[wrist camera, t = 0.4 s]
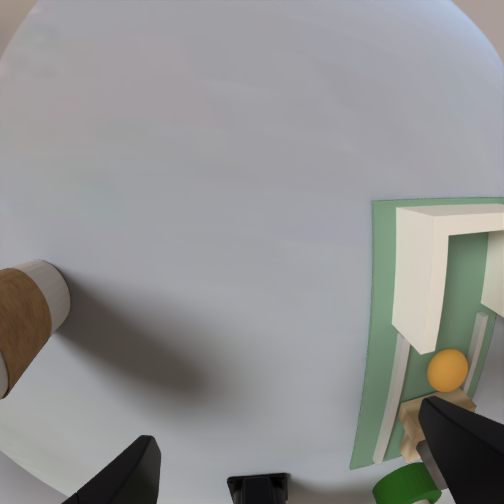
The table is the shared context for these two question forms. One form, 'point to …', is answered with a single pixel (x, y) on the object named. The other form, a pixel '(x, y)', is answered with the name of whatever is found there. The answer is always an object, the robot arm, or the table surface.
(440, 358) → the ball
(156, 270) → the table surface
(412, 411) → the kicker
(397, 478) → the candle
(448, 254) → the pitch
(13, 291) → the coffee cup
